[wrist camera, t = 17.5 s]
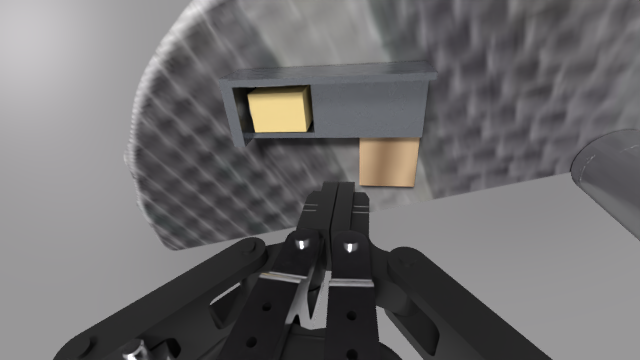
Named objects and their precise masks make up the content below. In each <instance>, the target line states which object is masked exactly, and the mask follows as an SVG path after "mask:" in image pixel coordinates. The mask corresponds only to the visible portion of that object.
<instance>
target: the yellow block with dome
mask: <svg viewBox="0 0 640 360" xmlns="http://www.w3.org/2000/svg"><path fill="white" fill-rule="evenodd" d="M248 100H249V109H250V114H251V116H252V119H253V124H254V129H255V132H307V130H308V128H309V126H310V124H311V122H312V120H313V110H312V99H311V89H310V85H285V86H266V87H257V88H256V89H255V90H253V91H252V92H250V93H249V94H248Z"/></svg>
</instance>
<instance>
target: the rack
mask: <svg viewBox="0 0 640 360" xmlns="http://www.w3.org/2000/svg"><path fill="white" fill-rule="evenodd" d="M437 73H438V72H437V71H436V70H435V69H434V68H433V67H432V66H431V65H430V64H429V63H428V62H427V61H409V62H389V63H368V64H347V65H327V66H306V67H285V68H265V69H244V70H237V71H235V72H233V73H231V74H229V75H226V76H224V77H222V78H220V79H218V81H219V85H220V89H221V93H222V97H223V101H224V105H225V109H226V113H227V117H228V122H229V126H230V130H231V134H232V138H233V142H234V146H235V147H246V146H247V144H248V143H249V142H250V141H251V140H252V139H253V138H381V137H422V133H423V124H424V116H425V108H426V100H427V92H428V84H429V80H437ZM285 85H311V95H312V107H313V118H314V125H310V126H309V128H308V130H307V132H255V129H254V124H253V119H252V116H251V114H250V109H249V100H248V94H249V93H250V92H252V91H253V90H252V87H266V86H285Z"/></svg>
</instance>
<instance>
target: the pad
mask: <svg viewBox="0 0 640 360" xmlns="http://www.w3.org/2000/svg"><path fill="white" fill-rule="evenodd" d="M419 139H420V137H381V138H360V185H370V186H411V187H414V181H415V173H416V165H417V156H418V148H419Z"/></svg>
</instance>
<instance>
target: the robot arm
mask: <svg viewBox="0 0 640 360" xmlns="http://www.w3.org/2000/svg"><path fill="white" fill-rule="evenodd" d="M571 176H572V179H573V181H574V182H575V184H576V185H577V186H579V187H580V188H581V189H582V190H583V191H584V192H585V193H586V194H588V195H589V196H590V197H591V198H592V199H593V200H594V201H595V202H596V203H598V204H599V205H600V206H601V207H602V208H603V209H604V210H606V211H607V212H608V213H609V214H610V215H611V216H612V217H613V218H615V219H616V220H617V221H618V222H619V223H620V224H621V225H622V226H624V227H625V228H626V229H627V230H628V231H629V232H631V234H633V235H634V236H635V237H636V238H637V239H638V240H639V241H640V131H637V130H623V131H617V132H613V133H610V134H607V135H605V136H602V137H600V138H598V139H596V140H595V141H593V142H591V143H590V144H589V145H587V146H586V147H585V148H584V149H583V150H582V151H581V152H580V153H579V154H578V155H577V157H576V158H575V160H574V162H573V165H572V168H571ZM326 271H331V281H329V288H328V303H327V317H326V328H320V329H313V325H314V321H315V317H316V314H317V310H318V306H319V302H320V299H321V295H322V291H323V287H324V277H325V272H326ZM238 282H240V285H239V286H238V287H236V288H235V289H233V290H232V291H230V292H229V293H227V294H226V295H225V296H223V297H222V298H220V299H219V300H217V301H216V302H214V303H213V304H212V305H210V303H211V301H212V300H213V299H215V298H216V297H217V296H219V295H220V294H222V293H223V292H225V291H226V290H228V289H229V288H231V287H232V286H234V285H235V284H237V283H238ZM376 306H379V307H382V308H384V310H385V313H386V315H387V316H388V317H389V319H390V320H391V321H392V322H393V323H394V324H395V326H396V327H397V328H398V329H399V331H400V332H401V333H402V334H403V335H404V336H405V338H406V339H407V340H408V341H409V342H410V344H411V345H412V346H413V347H414V348H415V350H416V351H417V352H418V353H419V354H420V356H421V357H422V358H423V359H424V360H552V359H551V358H550V357H548V356H547V355H546V354H545V353H544V352H542V351H541V350H540V349H538V348H537V347H536V346H535V345H534V344H533V343H531V342H530V341H529V340H528V339H526V338H525V337H524V336H523V335H521V334H520V333H519V332H518V331H517V330H515V329H514V328H513V327H512V326H511V325H509V324H508V323H507V322H506V321H504V320H503V319H502V318H501V317H499V316H498V315H497V314H496V313H494V312H493V311H492V310H491V309H490V308H488V307H487V306H486V305H485V304H484V303H482V302H481V301H480V300H479V299H477V298H476V297H475V296H474V295H473V294H471V293H470V292H469V291H468V290H466V289H465V288H464V287H463V286H461V285H460V284H459V283H458V282H457V281H455V280H454V279H453V278H452V277H451V276H449V275H448V274H447V273H446V272H444V271H443V270H442V269H441V268H440V267H438V266H437V265H436V264H435V263H433V262H432V261H431V260H430V259H428V258H427V257H426V256H425V255H424V254H422V253H421V252H420V251H418V250H416V249H414V248H410V247H398V248H395V249H393V250H392V251H391V252H388V251H384V250H381V249H379V248H377V247H376V246H375V245H373V244H372V242H371V241H370V239H369V198H368V196H367V195H366V193H364V192H355V182H340V183H339V182H325V181H324V183H323V186H322V190H321V191H313V192H312V193H311V194H310V195H309V196H308V197H307V199H306V201H305V205H304V207H303V211H302V213H301V216H300V219H299V222H298V225H297V228H296V230H294V231H292V232H291V233H289V235H288V236H287V237H286V239H285V241H284V242H282V243H278V244H273V245H268V246H265V242H264V241H263V240H262V239H259V238H256V237H249V238H245V239H242V240H241V241H239V242H237V243H235V244H233V245H232V246H230V247H228V248H226V249H225V250H223V251H221V252H220V253H218V254H216V255H214V256H213V257H211V258H209V259H207V260H206V261H204V262H202V263H201V264H199V265H197V266H195V267H194V268H192V269H190V270H189V271H187V272H185V273H183V274H182V275H180V276H178V277H176V278H175V279H173V280H171V281H170V282H168V283H166V284H165V285H163V286H161V287H159V288H158V289H156V290H154V291H152V292H151V293H149V294H147V295H146V296H144V297H142V298H141V299H139V300H137V301H135V302H134V303H132V304H130V305H129V306H127V307H125V308H123V309H121V310H120V311H118V312H116V313H115V314H113V315H111V316H109V317H108V318H106V319H104V320H103V321H101V322H99V323H97V324H96V325H94V326H92V327H91V328H89V329H87V330H85V331H84V332H82V333H80V334H78V335H77V336H75V337H74V338H72V339H71V340H70V341H68V342H67V343H66V344H65V345H64V346H63V347H62V348H61V349H60V351H59V352H58V353H57V354H56V356H55V357H54V359H53V360H402V359H401V358H400V357H399V355H397V354H396V353H395V352H394V351H393V350H392V349H390V348H389V347H387V346H386V345H384V344H383V343H381V342H379V332H378V322H377V312H376Z"/></svg>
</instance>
